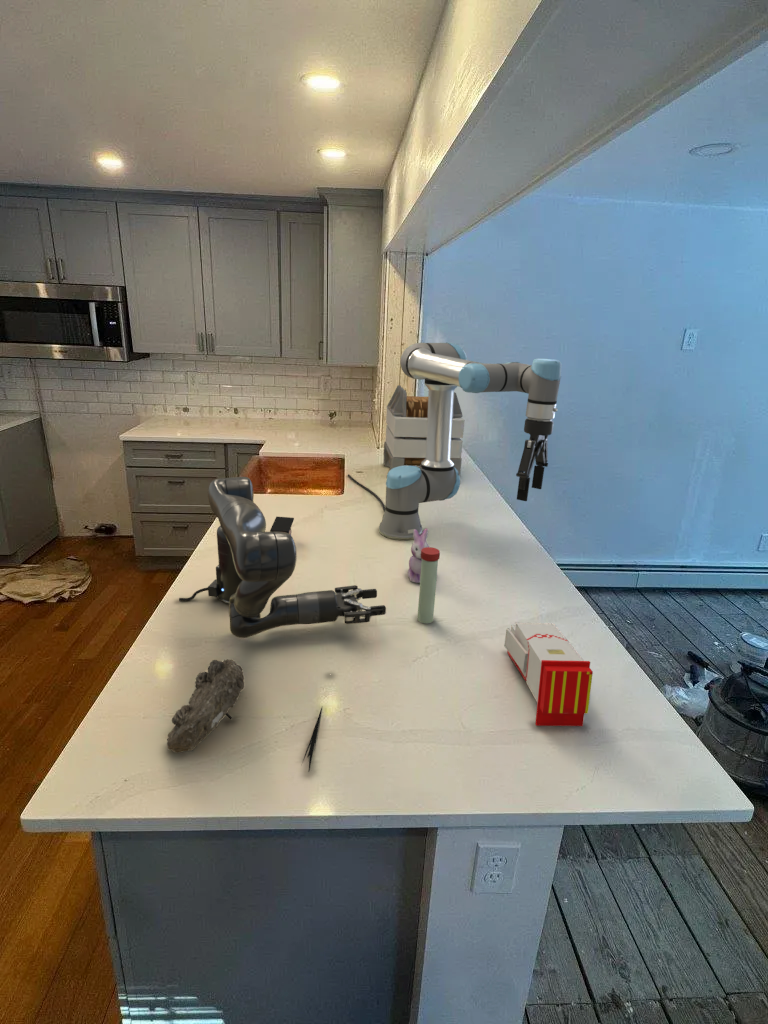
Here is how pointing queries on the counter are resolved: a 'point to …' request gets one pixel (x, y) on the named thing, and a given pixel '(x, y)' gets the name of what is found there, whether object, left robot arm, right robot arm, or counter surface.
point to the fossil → (206, 705)
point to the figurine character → (282, 525)
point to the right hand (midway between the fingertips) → (529, 494)
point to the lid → (430, 554)
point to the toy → (551, 672)
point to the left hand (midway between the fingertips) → (380, 601)
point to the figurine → (417, 555)
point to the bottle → (427, 591)
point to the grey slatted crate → (415, 431)
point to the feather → (313, 740)
